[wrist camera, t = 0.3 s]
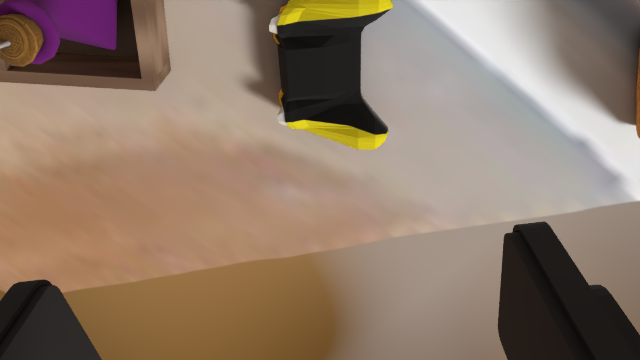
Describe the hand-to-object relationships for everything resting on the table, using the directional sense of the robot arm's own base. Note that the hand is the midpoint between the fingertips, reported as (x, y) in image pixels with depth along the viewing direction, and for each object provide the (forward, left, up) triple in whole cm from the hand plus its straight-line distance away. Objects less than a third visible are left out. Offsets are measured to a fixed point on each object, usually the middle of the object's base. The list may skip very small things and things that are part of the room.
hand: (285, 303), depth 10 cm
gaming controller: (+7, +2, -37) cm, 37 cm away
